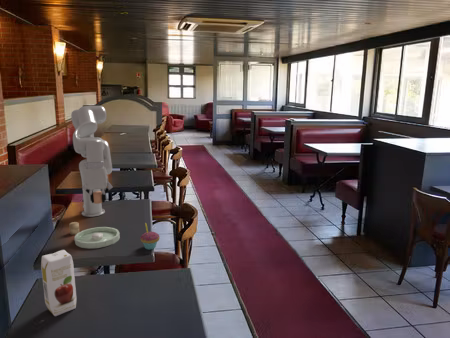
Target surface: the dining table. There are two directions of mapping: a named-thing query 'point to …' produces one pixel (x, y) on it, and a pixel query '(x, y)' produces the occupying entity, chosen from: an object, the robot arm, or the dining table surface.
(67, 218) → the dining table surface
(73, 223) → the maple bead
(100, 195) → the terracotta bead
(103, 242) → the groove tray
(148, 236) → the cupcake
